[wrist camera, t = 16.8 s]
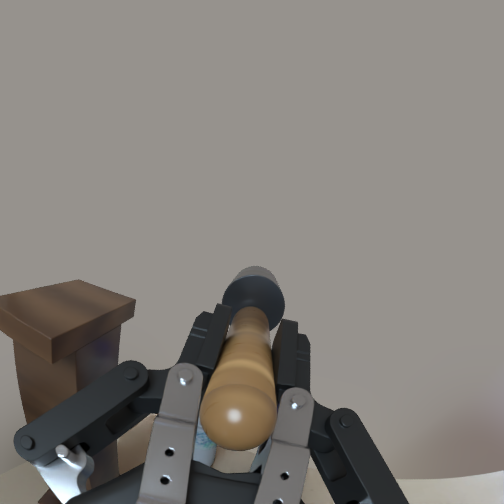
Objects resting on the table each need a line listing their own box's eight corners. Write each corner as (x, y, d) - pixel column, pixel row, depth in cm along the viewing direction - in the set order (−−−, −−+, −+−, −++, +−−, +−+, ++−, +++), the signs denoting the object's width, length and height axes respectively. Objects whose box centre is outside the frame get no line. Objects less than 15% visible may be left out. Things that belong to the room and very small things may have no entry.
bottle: (194, 446, 43) (211, 363, 43) (220, 464, 40) (244, 381, 39) (169, 458, 38) (182, 372, 37) (196, 480, 34) (216, 394, 33)
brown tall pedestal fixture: (102, 542, 14) (62, 344, 13) (40, 506, 15) (-18, 294, 13) (133, 484, 28) (144, 302, 27) (79, 459, 29) (72, 276, 27)
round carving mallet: (302, 471, 6) (344, 345, 6) (158, 449, 6) (161, 317, 6) (273, 313, 27) (281, 269, 27) (229, 306, 27) (236, 262, 27)
